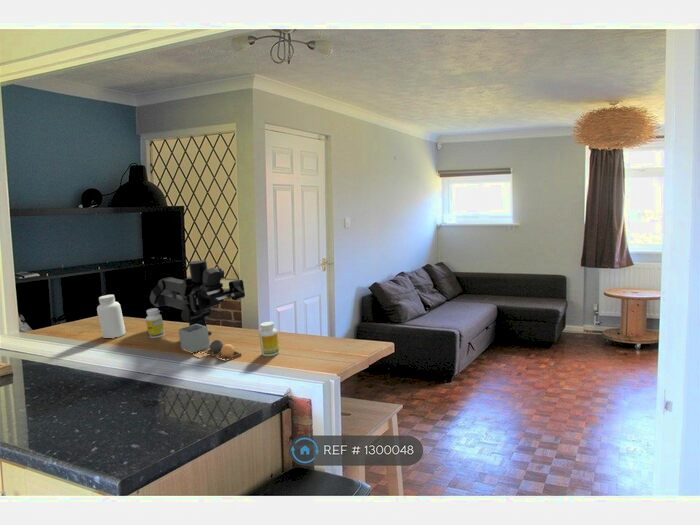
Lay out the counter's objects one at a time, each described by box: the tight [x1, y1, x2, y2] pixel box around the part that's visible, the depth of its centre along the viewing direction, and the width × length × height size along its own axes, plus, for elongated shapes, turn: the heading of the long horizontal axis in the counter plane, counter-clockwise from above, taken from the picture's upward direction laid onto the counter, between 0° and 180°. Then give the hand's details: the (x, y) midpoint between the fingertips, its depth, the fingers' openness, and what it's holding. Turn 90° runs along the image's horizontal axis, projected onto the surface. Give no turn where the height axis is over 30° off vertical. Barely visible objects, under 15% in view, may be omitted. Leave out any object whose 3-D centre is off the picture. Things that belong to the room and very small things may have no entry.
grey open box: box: [177, 324, 211, 353], centre depth 181 cm, size 7×7×7 cm
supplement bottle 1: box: [145, 307, 166, 339], centre depth 198 cm, size 5×5×10 cm
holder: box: [204, 349, 242, 360], centre depth 173 cm, size 12×6×1 cm, turn 44°
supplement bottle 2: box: [258, 321, 280, 357], centre depth 169 cm, size 5×5×10 cm
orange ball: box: [221, 343, 235, 358], centre depth 171 cm, size 4×4×4 cm
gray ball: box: [209, 339, 224, 354], centre depth 175 cm, size 4×4×4 cm
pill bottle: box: [96, 294, 126, 339], centre depth 203 cm, size 8×8×15 cm
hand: (232, 298), depth 174 cm, fingers open, 9 cm apart
